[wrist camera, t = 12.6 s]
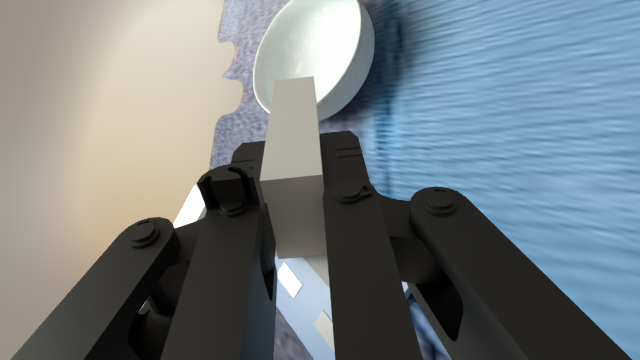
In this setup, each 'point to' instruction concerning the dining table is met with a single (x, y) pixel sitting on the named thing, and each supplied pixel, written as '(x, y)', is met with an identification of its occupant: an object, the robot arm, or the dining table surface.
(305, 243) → the robot arm
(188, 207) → the white upright block
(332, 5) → the cereal bowl
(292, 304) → the switch board
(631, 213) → the dining table surface
